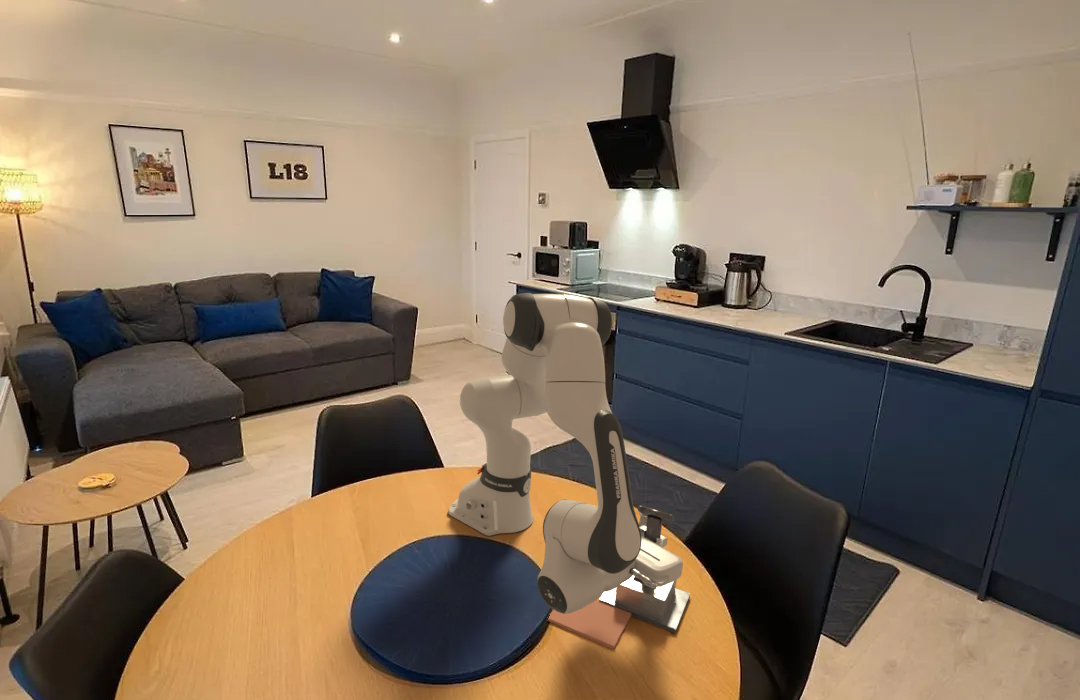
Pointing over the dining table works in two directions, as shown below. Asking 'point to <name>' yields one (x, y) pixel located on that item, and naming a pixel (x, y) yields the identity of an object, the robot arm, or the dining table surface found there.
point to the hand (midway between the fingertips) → (655, 534)
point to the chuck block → (649, 602)
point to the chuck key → (654, 522)
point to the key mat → (595, 622)
